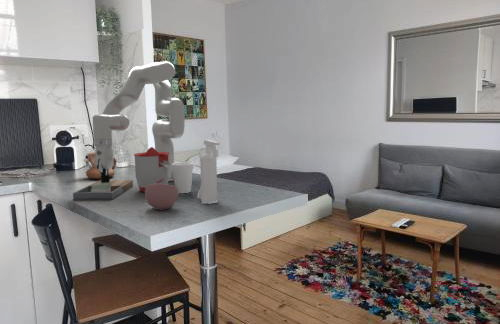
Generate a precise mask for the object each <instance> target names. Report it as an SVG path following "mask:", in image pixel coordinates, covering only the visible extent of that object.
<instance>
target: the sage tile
mask: <svg viewBox="0 0 500 324" xmlns="http://www.w3.org/2000/svg"><path fill="white" fill-rule="evenodd" d="M94 183H95V182H94ZM92 184H93V183H92ZM110 187H111V182H101V183H95V184H93V185H92V190H106V189H108V188H110Z"/></svg>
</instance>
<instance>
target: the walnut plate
mask: <svg viewBox="0 0 500 324" xmlns="http://www.w3.org/2000/svg"><path fill="white" fill-rule="evenodd" d="M110 182H111V189H117V188H119V187H120V186H122V189H123V193H122V194H124V193H125V192H127V191H128V190H129V189H131V188H133V187H134V180H133V179H129V180H127V179H122V180H121V179H120V180H119V179H118V180H117V179H115V180H114V179H113V180H111V179H110ZM95 183H101V179H98V180H97V181H95V182H93V183H91V184H89V185H87V186H86V187H88V189H92V185H93V184H95Z"/></svg>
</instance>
